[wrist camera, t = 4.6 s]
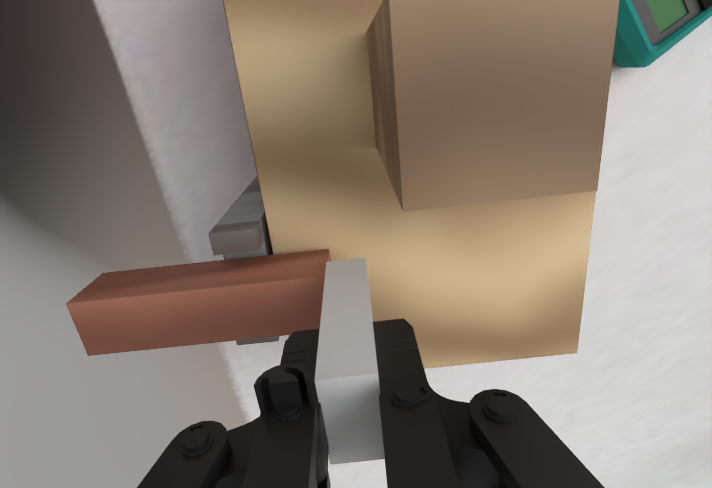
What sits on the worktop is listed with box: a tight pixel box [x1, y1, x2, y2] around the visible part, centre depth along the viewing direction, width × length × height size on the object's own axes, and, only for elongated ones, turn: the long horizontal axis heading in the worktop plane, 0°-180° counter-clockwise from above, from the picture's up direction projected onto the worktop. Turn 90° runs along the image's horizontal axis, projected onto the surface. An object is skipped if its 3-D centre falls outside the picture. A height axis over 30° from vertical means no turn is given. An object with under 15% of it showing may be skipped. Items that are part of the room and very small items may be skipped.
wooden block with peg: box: [223, 0, 619, 369], centre depth 13 cm, size 19×13×9 cm
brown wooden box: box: [209, 1, 290, 345], centre depth 20 cm, size 20×16×10 cm
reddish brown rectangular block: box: [66, 249, 331, 356], centre depth 17 cm, size 2×10×2 cm, turn 96°
